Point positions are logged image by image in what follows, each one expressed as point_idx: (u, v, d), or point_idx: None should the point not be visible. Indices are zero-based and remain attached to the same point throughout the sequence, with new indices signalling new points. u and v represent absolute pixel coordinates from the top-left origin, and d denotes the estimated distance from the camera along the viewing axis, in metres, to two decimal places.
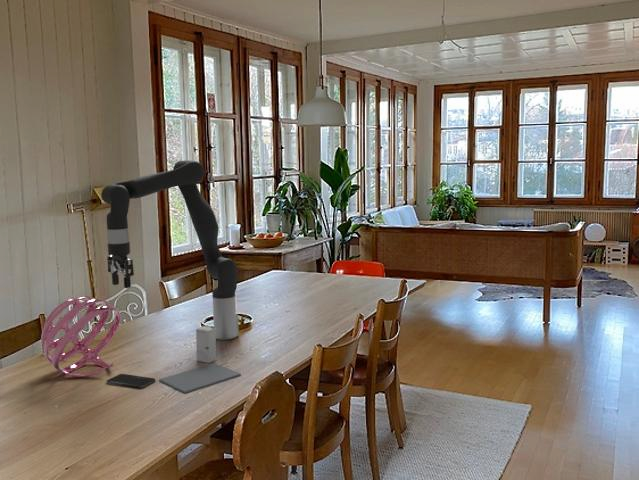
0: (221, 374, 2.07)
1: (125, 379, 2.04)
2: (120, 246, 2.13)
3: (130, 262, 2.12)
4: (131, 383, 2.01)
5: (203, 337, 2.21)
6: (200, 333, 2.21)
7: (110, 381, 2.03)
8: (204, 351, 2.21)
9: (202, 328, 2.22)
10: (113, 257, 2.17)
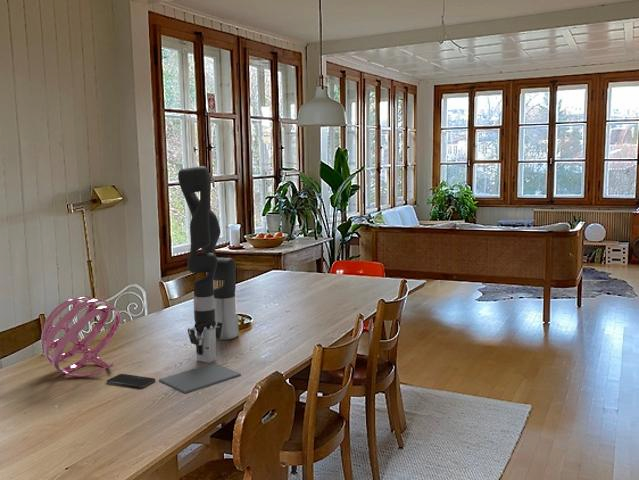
0: (221, 374, 2.07)
1: (125, 379, 2.04)
2: None
3: None
4: (131, 383, 2.01)
5: None
6: None
7: (110, 381, 2.03)
8: (204, 351, 2.21)
9: None
10: (200, 324, 2.20)
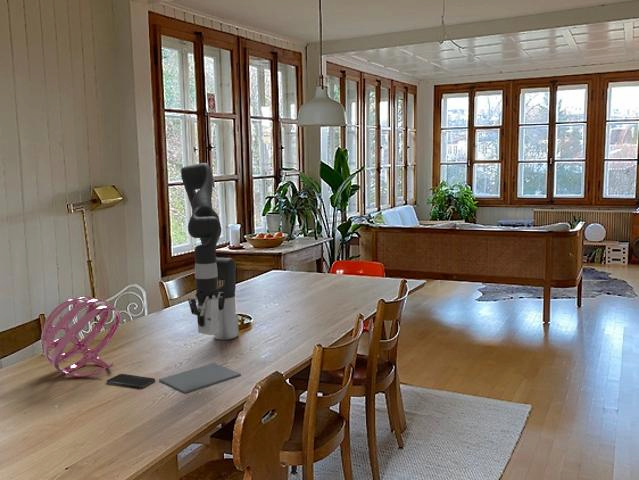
0: (221, 374, 2.07)
1: (125, 379, 2.04)
2: None
3: None
4: (131, 383, 2.01)
5: None
6: None
7: (110, 381, 2.03)
8: (206, 322, 2.05)
9: None
10: (202, 294, 2.04)
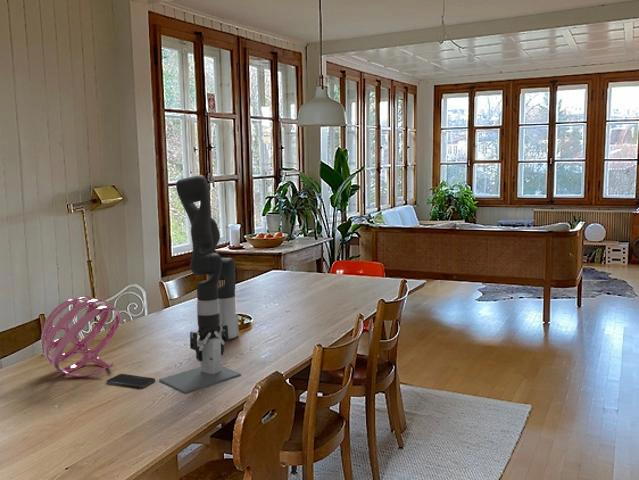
0: (221, 374, 2.07)
1: (125, 379, 2.04)
2: None
3: None
4: (131, 383, 2.01)
5: (207, 347, 2.07)
6: None
7: (110, 381, 2.03)
8: (208, 362, 2.07)
9: None
10: (204, 330, 2.06)
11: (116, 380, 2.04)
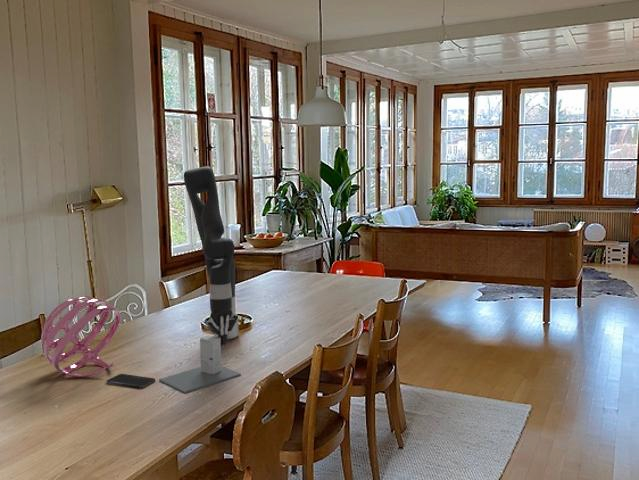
0: (221, 374, 2.07)
1: (125, 379, 2.04)
2: None
3: None
4: (131, 383, 2.01)
5: (207, 347, 2.07)
6: (204, 343, 2.08)
7: (110, 381, 2.03)
8: (208, 362, 2.07)
9: (206, 337, 2.09)
10: (215, 314, 2.08)
11: (116, 380, 2.04)
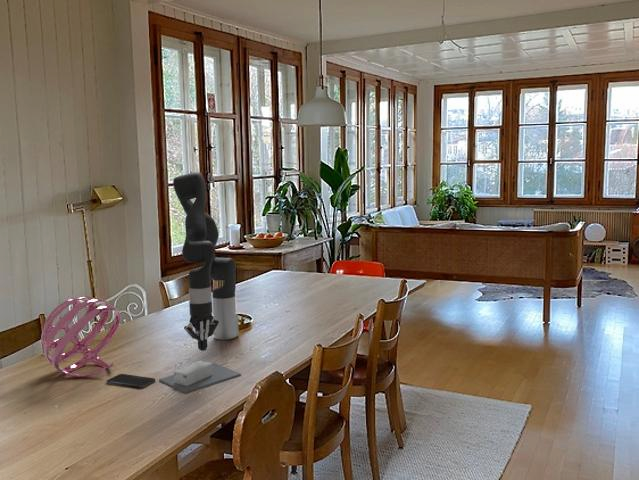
0: (221, 374, 2.07)
1: (125, 379, 2.04)
2: None
3: None
4: (131, 383, 2.01)
5: None
6: None
7: (110, 381, 2.03)
8: None
9: (178, 380, 1.99)
10: (195, 318, 2.02)
11: (116, 380, 2.04)
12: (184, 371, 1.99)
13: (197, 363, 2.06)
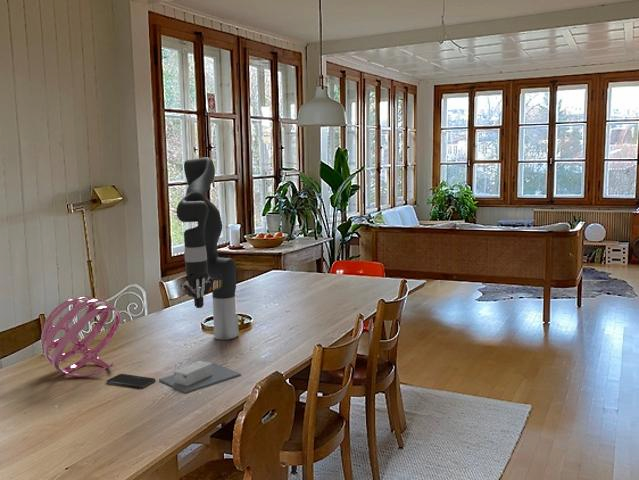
0: (221, 374, 2.07)
1: (125, 379, 2.04)
2: None
3: None
4: (131, 383, 2.01)
5: None
6: None
7: (110, 381, 2.03)
8: None
9: (178, 380, 1.99)
10: (191, 276, 2.08)
11: (116, 380, 2.04)
12: (184, 371, 1.99)
13: (197, 363, 2.06)
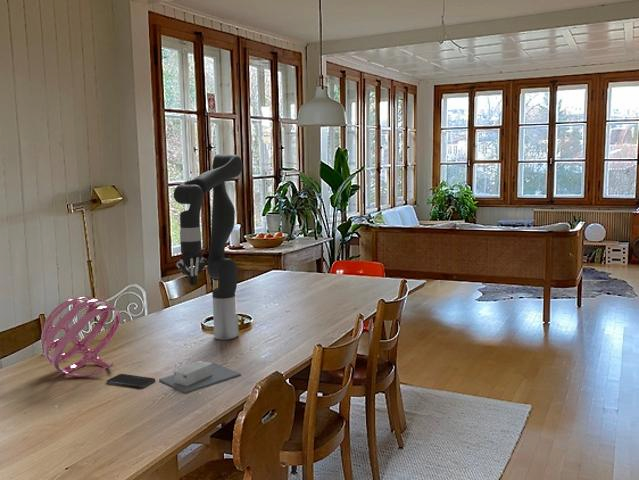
0: (221, 374, 2.07)
1: (125, 379, 2.04)
2: None
3: None
4: (131, 383, 2.01)
5: None
6: None
7: (110, 381, 2.03)
8: None
9: (178, 380, 1.99)
10: (185, 255, 2.21)
11: (116, 380, 2.04)
12: (184, 371, 1.99)
13: (197, 363, 2.06)
